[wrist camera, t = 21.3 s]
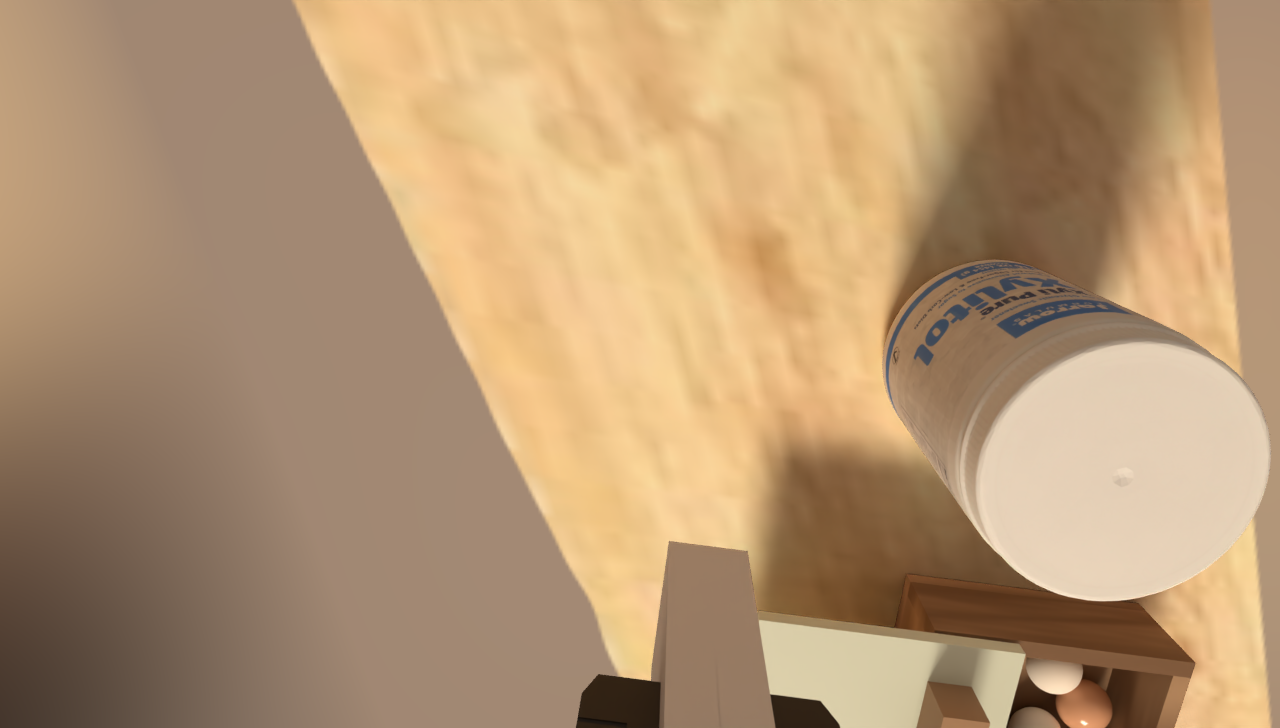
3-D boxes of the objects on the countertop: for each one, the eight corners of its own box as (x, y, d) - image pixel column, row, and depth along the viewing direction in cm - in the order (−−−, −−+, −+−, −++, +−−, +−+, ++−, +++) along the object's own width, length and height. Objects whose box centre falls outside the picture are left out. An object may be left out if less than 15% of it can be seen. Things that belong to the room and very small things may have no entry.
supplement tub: (985, 214, 40) (1152, 262, 26) (1121, 349, 42) (1349, 465, 28) (834, 362, 42) (911, 481, 28) (968, 487, 44) (1105, 660, 30)
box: (906, 573, 45) (934, 629, 40) (1138, 603, 45) (1195, 663, 40) (870, 736, 48) (892, 808, 43) (1089, 765, 48) (1137, 840, 43)
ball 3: (1053, 665, 45) (1075, 696, 43) (1103, 671, 45) (1128, 703, 43) (1041, 707, 46) (1062, 741, 44) (1091, 714, 46) (1114, 748, 44)
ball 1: (1024, 626, 45) (1044, 656, 42) (1074, 633, 45) (1098, 663, 42) (1012, 670, 46) (1032, 701, 43) (1062, 676, 46) (1084, 708, 43)
